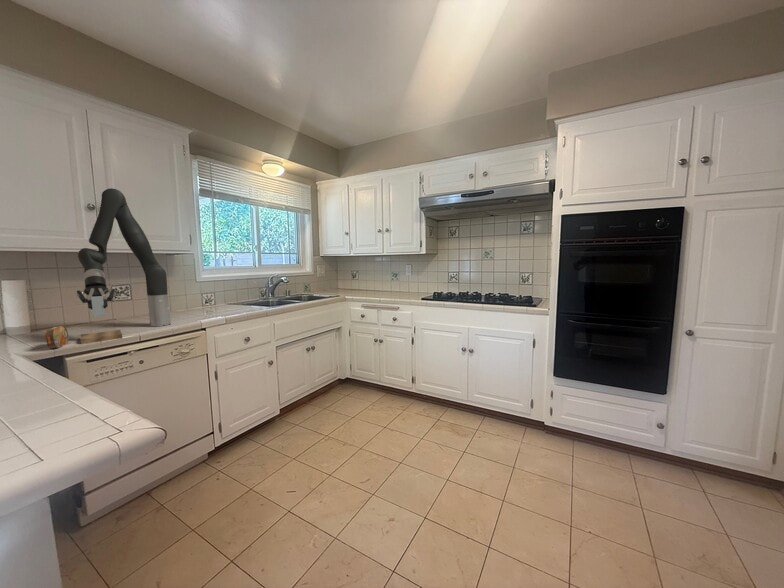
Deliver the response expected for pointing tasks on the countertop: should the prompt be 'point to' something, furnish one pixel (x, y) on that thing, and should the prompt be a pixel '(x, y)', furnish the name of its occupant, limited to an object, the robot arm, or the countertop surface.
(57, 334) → the tin
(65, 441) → the countertop surface
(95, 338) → the walnut board
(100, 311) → the slate block
